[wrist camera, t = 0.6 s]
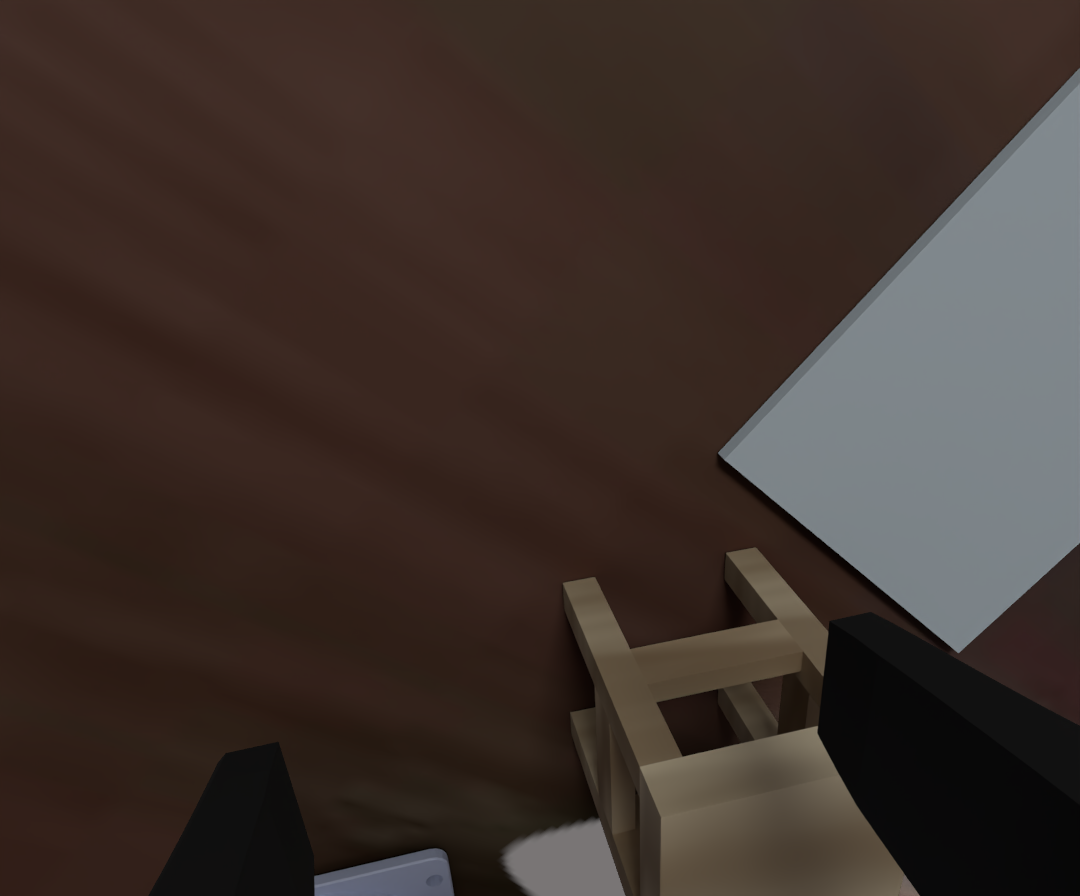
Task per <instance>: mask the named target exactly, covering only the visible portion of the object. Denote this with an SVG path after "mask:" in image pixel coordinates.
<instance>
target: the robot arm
mask: <svg viewBox="0 0 1080 896" xmlns="http://www.w3.org/2000/svg"><path fill="white" fill-rule="evenodd" d="M817 734H818V736H819V738H820V740H821V741H822V743H823V745H824V747H825V749H826V751H827V753H828V755H829V757H830V759H831V760H832V762H833V764H834V766H835V768H836V770H837V772H838V774H839V775H840V777H841V779H842V781H843V782H844V784H845V786H846V788H847V790H848V791H849V793H850V795H851V797H852V798H853V800H854V802H855V804H856V805H857V807H858V808H859V810H860V811H861V813H862V814H863V816H864V817H865V819H866V820H867V821H868V823H869V824H870V826H871V827H872V829H873V830H874V831H875V833H876V834H877V836H878V837H879V839H880V840H881V841H882V843H883V844H884V846H885V847H886V849H887V850H888V851H889V853H890V854H891V856H892V857H893V859H894V860H895V861H896V863H897V864H898V866H899V867H900V868H901V870H902V871H903V873H904V874H905V875H906V877H907V878H908V880H909V881H910V882H911V884H912V885H913V887H914V888H915V889H916V891H917V892H918V894H919V895H920V896H1080V726H1079V725H1077V724H1075V723H1073V722H1071V721H1069V720H1068V719H1066V718H1064V717H1062V716H1060V715H1058V714H1056V713H1054V712H1052V711H1050V710H1048V709H1047V708H1045V707H1043V706H1041V705H1039V704H1037V703H1035V702H1034V701H1032V700H1030V699H1028V698H1026V697H1024V696H1022V695H1021V694H1019V693H1017V692H1015V691H1013V690H1011V689H1010V688H1008V687H1006V686H1004V685H1002V684H1001V683H999V682H997V681H995V680H993V679H992V678H990V677H988V676H986V675H984V674H983V673H981V672H979V671H977V670H975V669H974V668H972V667H970V666H968V665H967V664H965V663H963V662H961V661H959V660H958V659H956V658H954V657H952V656H950V655H949V654H947V653H945V652H943V651H942V650H940V649H938V648H936V647H935V646H933V645H931V644H929V643H927V642H926V641H924V640H922V639H920V638H918V637H917V636H915V635H913V634H911V633H909V632H908V631H906V630H904V629H902V628H900V627H898V626H897V625H895V624H893V623H891V622H889V621H887V620H885V619H883V618H881V617H879V616H878V615H876V614H874V613H872V612H869V613H864V614H860V615H855V616H851V617H846V618H842V619H837V620H832V621H830V623H829V632H828V641H827V650H826V659H825V668H824V677H823V686H822V695H821V704H820V713H819V722H818V731H817ZM149 896H454V890H453V884H452V879H451V873H450V867H449V861H448V856H447V854H446V852H444V851H443V850H441V849H436V848H433V849H427V850H423V851H419V852H414V853H410V854H406V855H402V856H397V857H393V858H389V859H385V860H380V861H376V862H372V863H368V864H363V865H359V866H355V867H351V868H347V869H342V870H338V871H334V872H330V873H325V874H321V875H317V876H314V855H313V852H312V849H311V845H310V842H309V839H308V836H307V832H306V829H305V826H304V823H303V820H302V816H301V813H300V810H299V807H298V803H297V800H296V797H295V794H294V790H293V787H292V784H291V781H290V778H289V774H288V771H287V768H286V765H285V761H284V758H283V755H282V752H281V748H280V745H279V742H276V743H271V744H266V745H262V746H257V747H253V748H248V749H244V750H239V751H234V752H230V753H226V754H225V755H224V756H223V757H222V759H221V760H220V761H219V762H218V764H217V766H216V768H215V770H214V772H213V774H212V776H211V778H210V780H209V782H208V784H207V786H206V788H205V790H204V792H203V794H202V796H201V798H200V800H199V802H198V804H197V806H196V808H195V810H194V812H193V814H192V816H191V818H190V820H189V822H188V824H187V826H186V828H185V830H184V831H183V833H182V835H181V837H180V839H179V841H178V843H177V845H176V847H175V848H174V850H173V852H172V854H171V856H170V858H169V860H168V862H167V863H166V865H165V867H164V869H163V871H162V873H161V874H160V876H159V878H158V880H157V881H156V883H155V885H154V887H153V889H152V890H151V892H150V894H149Z"/></svg>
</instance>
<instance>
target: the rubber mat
mask: <svg viewBox="0 0 1080 896" xmlns="http://www.w3.org/2000/svg"><path fill="white" fill-rule="evenodd" d="M718 454H719V455H720V456H721V457H722V458H723V459H724V460H725V461H726V462H728V463H729V464H730V465H731V466H733V467H734V468H735V469H736V470H737V471H739V472H740V473H741V474H742V475H743V476H745V477H746V478H747V479H748V480H749V481H751V482H752V483H753V484H754V485H756V486H757V487H758V488H759V489H760V490H762V491H763V492H764V493H765V494H766V495H768V496H769V497H770V498H771V499H772V500H774V501H775V502H776V503H777V504H779V505H780V506H781V507H782V508H783V509H785V510H786V511H787V512H788V513H789V514H791V515H792V516H793V517H794V518H795V519H797V520H798V521H799V522H800V523H801V524H803V525H804V526H805V527H806V528H808V529H809V530H810V531H811V532H812V533H814V534H815V535H816V536H817V537H818V538H820V539H821V540H822V541H823V542H824V543H826V544H827V545H828V546H829V547H831V548H832V549H833V550H834V551H835V552H837V553H838V554H839V555H840V556H841V557H843V558H844V559H845V560H846V561H847V562H849V563H850V564H851V565H852V566H854V567H855V568H856V569H857V570H858V571H860V572H861V573H862V574H863V575H864V576H866V577H867V578H868V579H869V580H870V581H872V582H873V583H874V584H875V585H877V586H878V587H879V588H880V589H881V590H883V591H884V592H885V593H886V594H887V595H889V596H890V597H891V598H892V599H893V600H895V601H896V602H897V603H898V604H900V605H901V606H902V607H903V608H904V609H906V610H907V611H908V612H909V613H910V614H912V615H913V616H914V617H915V618H916V619H918V620H919V621H920V622H921V623H923V624H924V625H925V626H926V627H927V628H929V629H930V630H931V631H932V632H933V633H935V634H936V635H937V636H938V637H939V638H941V639H942V640H943V641H944V642H946V643H947V644H948V645H949V646H950V647H952V648H953V649H954V650H955V651H956V652H958V653H959V652H960V651H961V650H962V649H964V648H965V647H966V646H967V645H968V644H969V643H970V642H971V641H972V640H973V639H974V638H976V637H977V636H978V635H979V634H980V633H981V632H982V631H983V630H984V629H985V628H987V627H988V626H989V625H990V624H991V623H992V622H993V621H994V620H995V619H996V618H998V617H999V616H1000V615H1001V614H1002V613H1003V612H1004V611H1005V610H1006V609H1007V608H1009V607H1010V606H1011V605H1012V604H1013V603H1014V602H1015V601H1016V600H1017V599H1018V598H1020V597H1021V596H1022V595H1023V594H1024V593H1025V592H1026V591H1027V590H1028V589H1029V588H1030V587H1032V586H1033V585H1034V584H1035V583H1036V582H1037V581H1038V580H1039V579H1040V578H1041V577H1043V576H1044V575H1045V574H1046V573H1047V572H1048V571H1049V570H1050V569H1051V568H1052V567H1054V566H1055V565H1056V564H1057V563H1058V562H1059V561H1060V560H1061V559H1062V558H1063V557H1065V556H1066V555H1067V554H1068V553H1069V552H1070V551H1071V550H1072V549H1073V548H1074V547H1076V546H1077V545H1078V544H1079V543H1080V69H1078V70H1077V71H1076V72H1075V74H1074V75H1073V76H1072V77H1071V78H1070V79H1069V80H1068V81H1067V82H1066V83H1065V84H1064V85H1063V86H1062V87H1061V88H1060V89H1059V91H1058V92H1057V93H1056V94H1055V95H1054V96H1053V97H1052V98H1051V99H1050V100H1049V101H1048V102H1047V103H1046V104H1045V105H1044V107H1043V108H1042V109H1041V110H1040V111H1039V112H1038V113H1037V114H1036V115H1035V116H1034V117H1033V118H1032V119H1031V120H1030V121H1029V122H1028V124H1027V125H1026V126H1025V127H1024V128H1023V129H1022V130H1021V131H1020V132H1019V133H1018V134H1017V135H1016V136H1015V137H1014V138H1013V139H1012V141H1011V142H1010V143H1009V144H1008V145H1007V146H1006V147H1005V148H1004V149H1003V150H1002V151H1001V152H1000V153H999V154H998V155H997V157H996V158H995V159H994V160H993V161H992V162H991V163H990V164H989V165H988V166H987V167H986V168H985V169H984V170H983V171H982V172H981V174H980V175H979V176H978V177H977V178H976V179H975V180H974V181H973V182H972V183H971V184H970V185H969V186H968V187H967V188H966V190H965V191H964V192H963V193H962V194H961V195H960V196H959V197H958V198H957V199H956V200H955V201H954V202H953V203H952V204H951V205H950V207H949V208H948V209H947V210H946V211H945V212H944V213H943V214H942V215H941V216H940V217H939V218H938V219H937V220H936V221H935V222H934V224H933V225H932V226H931V227H930V228H929V229H928V230H927V231H926V232H925V233H924V234H923V235H922V236H921V237H920V238H919V240H918V241H917V242H916V243H915V244H914V245H913V246H912V247H911V248H910V249H909V250H908V251H907V252H906V253H905V254H904V255H903V257H902V258H901V259H900V260H899V261H898V262H897V263H896V264H895V265H894V266H893V267H892V268H891V269H890V270H889V271H888V272H887V274H886V275H885V276H884V277H883V278H882V279H881V280H880V281H879V282H878V283H877V284H876V285H875V286H874V287H873V288H872V290H871V291H870V292H869V293H868V294H867V295H866V296H865V297H864V298H863V299H862V300H861V301H860V302H859V303H858V304H857V305H856V307H855V308H854V309H853V310H852V311H851V312H850V313H849V314H848V315H847V316H846V317H845V318H844V319H843V320H842V321H841V323H840V324H839V325H838V326H837V327H836V328H835V329H834V330H833V331H832V332H831V333H830V334H829V335H828V336H827V337H826V338H825V340H824V341H823V342H822V343H821V344H820V345H819V346H818V347H817V348H816V349H815V350H814V351H813V352H812V353H811V354H810V355H809V357H808V358H807V359H806V360H805V361H804V362H803V363H802V364H801V365H800V366H799V367H798V368H797V369H796V370H795V371H794V373H793V374H792V375H791V376H790V377H789V378H788V379H787V380H786V381H785V382H784V383H783V384H782V385H781V386H780V387H779V388H778V390H777V391H776V392H775V393H774V394H773V395H772V396H771V397H770V398H769V399H768V400H767V401H766V402H765V403H764V404H763V406H762V407H761V408H760V409H759V410H758V411H757V412H756V413H755V414H754V415H753V416H752V417H751V418H750V419H749V420H748V421H747V423H746V424H745V425H744V426H743V427H742V428H741V429H740V430H739V431H738V432H737V433H736V434H735V435H734V436H733V437H732V438H731V440H730V441H729V442H728V443H727V444H726V445H725V446H724V447H723V448H722V449H721V450H720V451H719V452H718Z"/></svg>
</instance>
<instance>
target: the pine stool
mask: <svg viewBox="0 0 1080 896" xmlns="http://www.w3.org/2000/svg"><path fill="white" fill-rule="evenodd" d="M724 579H725V581H726V582H727V583H728V585H729V586H730V587H731V589H732V590H733V592H734V593H735V594H736V596H737V597H738V598H739V600H740V601H741V602H742V604H743V605H744V606H745V608H746V609H747V610H748V612H749V613H750V614H751V616H752V617H753V618H754V620H755V621H756V623H757V624H753V625H748V626H743V627H738V628H733V629H728V630H723V631H718V632H713V633H708V634H703V635H698V636H693V637H688V638H683V639H678V640H673V641H668V642H663V643H658V644H653V645H648V646H643V647H638V648H633V649H630V648H629V646H628V644H627V642H626V640H625V638H624V636H623V634H622V632H621V630H620V627H619V625H618V623H617V621H616V619H615V617H614V615H613V613H612V611H611V609H610V607H609V605H608V603H607V601H606V599H605V597H604V595H603V593H602V591H601V589H600V586H599V584H598V582H597V580H596V578H595V577H592V578H587V579H582V580H576V581H571V582H565V583H563V597H564V610H565V613H566V615H567V618H568V620H569V623H570V625H571V628H572V630H573V633H574V635H575V638H576V640H577V643H578V645H579V648H580V650H581V653H582V655H583V658H584V660H585V663H586V665H587V668H588V670H589V673H590V675H591V678H592V680H593V683H594V685H595V707H594V708H589V709H584V710H580V711H575V712H570V718H571V735H572V738H573V741H574V744H575V747H576V750H577V753H578V756H579V759H580V761H581V764H582V767H583V770H584V773H585V776H586V779H587V782H588V785H589V788H590V791H591V794H592V797H593V800H594V803H595V806H596V809H597V812H598V815H599V818H600V821H601V824H602V827H603V830H604V833H605V836H606V839H607V842H608V845H609V848H610V850H611V854H612V857H613V859H614V863H615V866H616V869H617V872H618V875H619V878H620V880H621V883H622V886H623V889H624V892H625V895H626V896H899V893H900V889H901V885H902V880H903V876H904V873H903V871H902V870H901V868H900V867H899V866H898V864H897V863H896V861H895V860H894V859H893V857H892V856H891V854H890V853H889V851H888V850H887V849H886V847H885V846H884V844H883V843H882V841H881V840H880V839H879V837H878V836H877V834H876V833H875V831H874V830H873V829H872V827H871V826H870V824H869V823H868V821H867V820H866V819H865V817H864V816H863V814H862V813H861V811H860V810H859V808H858V807H857V805H856V804H855V802H854V800H853V798H852V797H851V795H850V793H849V791H848V790H847V788H846V786H845V784H844V782H843V781H842V779H841V777H840V775H839V774H838V772H837V770H836V768H835V766H834V764H833V762H832V760H831V759H830V757H829V755H828V753H827V751H826V749H825V747H824V745H823V743H822V741H821V740H820V738H819V736H818V734H817V731H818V722H819V713H820V704H821V695H822V686H823V677H824V668H825V659H826V650H827V641H828V631H827V630H826V629H825V628H824V626H823V625H822V624H821V623H820V622H819V621H818V619H817V618H816V617H815V616H814V615H813V614H812V612H811V611H810V610H809V609H808V608H807V607H806V605H805V604H804V603H803V602H802V601H801V600H800V598H799V597H798V596H797V595H796V594H795V593H794V591H793V590H792V589H791V588H790V587H789V586H788V584H787V583H786V582H785V581H784V580H783V579H782V577H781V576H780V575H779V574H778V573H777V572H776V570H775V569H774V568H773V567H772V566H771V565H770V563H769V562H768V561H767V560H766V559H765V558H764V556H763V555H762V554H761V553H760V552H759V551H758V549H757V548H750V549H745V550H739V551H734V552H728V553H726V560H725V578H724ZM781 675H783V683H782V692H781V702H780V712H779V721H778V723H777V721H776V720H775V718H774V716H773V715H772V713H771V712H770V710H769V709H768V707H767V706H766V704H765V703H764V701H763V700H762V698H761V697H760V695H759V694H758V692H757V691H756V689H755V688H754V686H753V685H752V683H751V682H753V681H757V680H762V679H767V678H771V677H776V676H781ZM716 689H718V704H719V706H720V708H721V710H722V711H723V713H724V715H725V716H726V718H727V720H728V721H729V723H730V725H731V727H732V728H733V730H734V732H735V733H736V735H737V737H738V739H739V740H740V742H741V744H737V745H732V746H728V747H724V748H719V749H715V750H710V751H706V752H702V753H697V754H693V755H689V756H684V757H682V755H681V752H680V750H679V748H678V746H677V744H676V742H675V740H674V738H673V736H672V734H671V732H670V730H669V728H668V726H667V724H666V722H665V720H664V718H663V716H662V714H661V711H660V709H659V707H658V705H657V703H656V702H660V701H664V700H669V699H674V698H678V697H683V696H688V695H692V694H697V693H702V692H706V691H711V690H716ZM635 787H636V790H637V792H638V794H636V795H635Z"/></svg>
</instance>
